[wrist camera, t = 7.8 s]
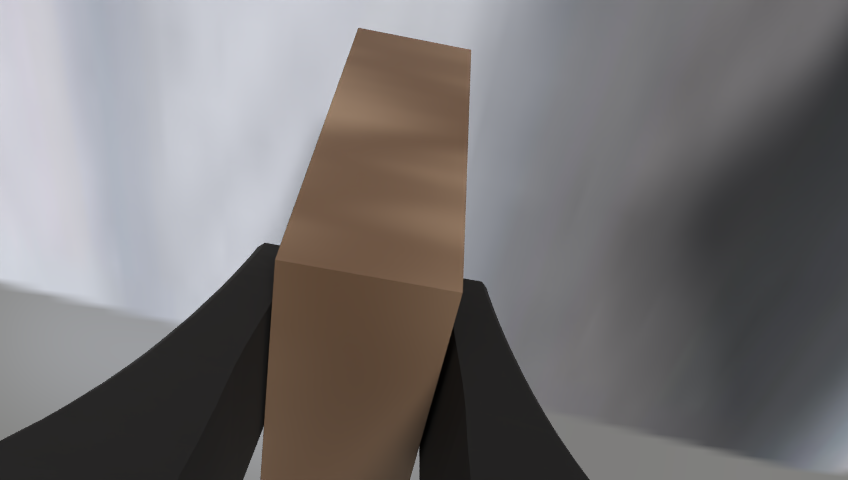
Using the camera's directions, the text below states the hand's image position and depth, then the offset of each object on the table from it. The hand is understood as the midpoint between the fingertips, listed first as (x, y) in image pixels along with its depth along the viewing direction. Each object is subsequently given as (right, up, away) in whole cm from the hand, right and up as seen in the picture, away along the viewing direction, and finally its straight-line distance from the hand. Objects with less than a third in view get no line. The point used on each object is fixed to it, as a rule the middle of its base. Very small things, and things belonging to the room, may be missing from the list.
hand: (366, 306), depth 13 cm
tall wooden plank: (0, +4, +5) cm, 6 cm away
